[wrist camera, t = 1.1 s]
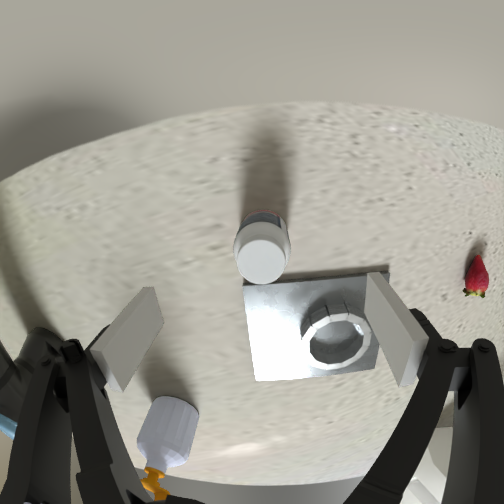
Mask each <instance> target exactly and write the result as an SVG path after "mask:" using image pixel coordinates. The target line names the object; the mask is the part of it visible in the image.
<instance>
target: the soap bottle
mask: <svg viewBox="0 0 504 504" xmlns="http://www.w3.org/2000/svg"><path fill="white" fill-rule="evenodd" d="M198 420H199V415H198V412H197V410H196V409H195V408H194V407H193V406H192V405H190V404H189V403H187V402H185V401H183V400H181V399H178V398H174V397H170V396H161V397H158V398H156V399H155V400H154V401H153V403H152V405H151V407H150V409H149V412H148V414H147V416H146V419H145V421H144V423H143V426H142V428H141V430H140V433H139V435H138V437H137V447H138V449H139V451H140V452H141V453H142V455H143V456H144V457H145V458H146V459H147V463H146V466H145V469H144V471H145V472H146V473H148V477H147V478H143V479H140V481H141V483H142V485H143V487H144V488H146V489H147V490H149V491H151V492H153V493H154V494H155V500H154V501H157V500H166V497H167V494H168V495H170V493H169V492H168V491H167V490H165V489H163V488H161V487H159V486H160V484H159V483H158V482H157V480H158V478H164V476H165V473H166V470H167V468H168V467H176V466H179V465H182V464H184V463H185V462H186V461H187V460H188V457H189V454H190V450H191V446H192V442H193V438H194V435H195V431H196V427H197V423H198Z"/></svg>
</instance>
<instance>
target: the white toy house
mask: <svg viewBox="0 0 504 504" xmlns="http://www.w3.org/2000/svg"><path fill="white" fill-rule="evenodd" d="M452 435H453V427H442V428H435V430H434V433H433V435H432V438H431V440H430V442H429V444H428V447H427V449H426V451H425V453H424V455H423V457H422V459H421V461H420V463H419V465H418V467H417V469H416V471H415V473H414V475H413V477H412V479H411V480H410V482H409V484H408V486H407V487H406V489H405V491H404V493H403V498H402V500H401V502H400V504H441V502H442V498H443V493H444V489H445V484H446V479H447V473H448V468H449V461H450V454H451V445H452Z"/></svg>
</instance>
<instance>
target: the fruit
mask: <svg viewBox="0 0 504 504" xmlns="http://www.w3.org/2000/svg"><path fill="white" fill-rule="evenodd" d="M488 284H489V276H488V273H487V271H486V269H485V265H484V263H483V261H482V258H481V256H480V255H477V256H475V258H474V260H473V262H472V264H471V266H470V268H469V270H468V272H467V275H466V277H465V286H466V288H464V289H463V290H462V291H463V292H464V293H466V295H465V296H469V295H472V296H479V295H480V296H481V297H482V298H484V297H485V296H484V295H485V291H486V290H487V288H488Z"/></svg>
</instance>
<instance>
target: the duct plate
mask: <svg viewBox="0 0 504 504" xmlns="http://www.w3.org/2000/svg"><path fill="white" fill-rule="evenodd" d="M379 272H380V273H381V275H382V276H383V277H384V278H385V280H386V281H387V282H388V283H389V277H390V273H389V272H388V271H379ZM370 273H371V272H370ZM366 286H367V273H360V274H350V275H340V276H329V277H318V278H306V279H294V280H281V281H273V282H271V283H268V284H255V283H243V293H244V300H245V307H246V315H247V322H248V329H249V336H250V342H251V349H252V356H253V363H254V370H255V376H256V381H261V380H283V379H297V378H309V377H319V376H328V375H336V374H343V373H350V372H357V371H363V370H369V369H374V368H375V363H376V359H377V354H378V349H379V342H378V340H377V338H376V336H375V334H374V331H373V329H372V327H371V325H370V323H369V321H368V319H367V317H366V315H365V313H364V308H365V298H366Z"/></svg>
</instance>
